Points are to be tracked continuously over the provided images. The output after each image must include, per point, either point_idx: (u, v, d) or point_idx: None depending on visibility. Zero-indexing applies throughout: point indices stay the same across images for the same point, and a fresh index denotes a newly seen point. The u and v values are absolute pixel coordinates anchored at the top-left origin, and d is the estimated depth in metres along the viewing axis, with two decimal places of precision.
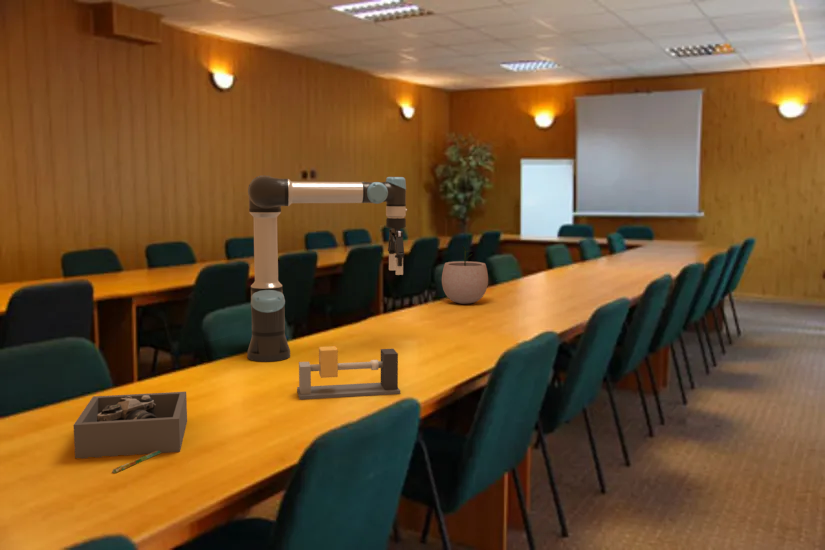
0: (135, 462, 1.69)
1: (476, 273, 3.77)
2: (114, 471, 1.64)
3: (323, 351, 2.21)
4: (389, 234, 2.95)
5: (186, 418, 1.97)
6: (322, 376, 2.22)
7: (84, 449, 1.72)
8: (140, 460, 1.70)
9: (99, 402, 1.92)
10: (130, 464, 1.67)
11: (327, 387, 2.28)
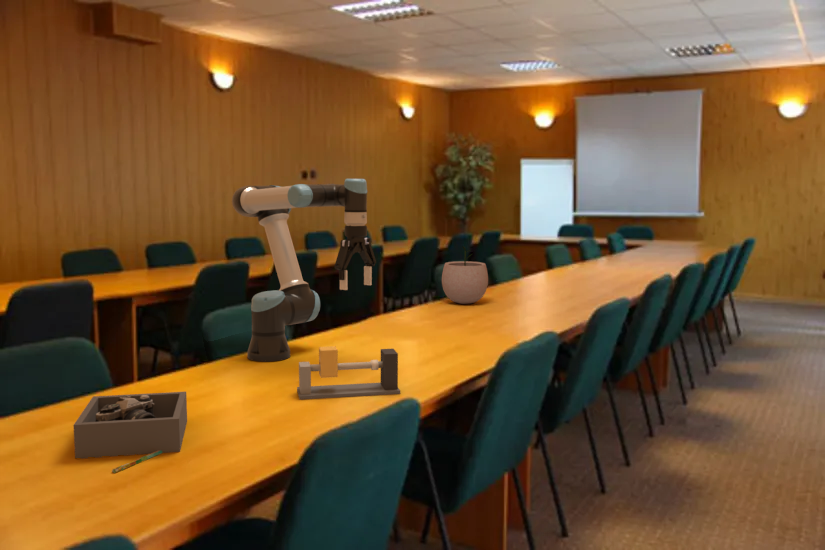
0: (135, 462, 1.69)
1: (476, 273, 3.77)
2: (114, 471, 1.64)
3: (323, 351, 2.21)
4: (364, 244, 2.59)
5: (186, 418, 1.97)
6: (322, 376, 2.22)
7: (84, 449, 1.72)
8: (140, 460, 1.70)
9: (99, 402, 1.92)
10: (130, 464, 1.67)
11: (327, 387, 2.28)
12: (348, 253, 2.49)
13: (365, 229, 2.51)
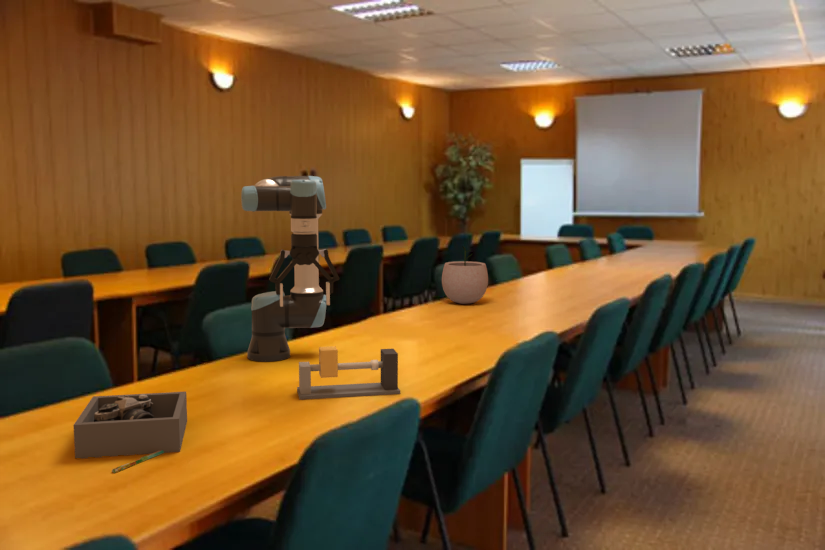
0: (135, 462, 1.69)
1: (476, 273, 3.77)
2: (113, 471, 1.64)
3: (323, 351, 2.21)
4: None
5: (186, 418, 1.97)
6: (322, 376, 2.22)
7: (84, 449, 1.72)
8: (141, 460, 1.70)
9: (99, 402, 1.92)
10: (130, 464, 1.67)
11: (327, 387, 2.28)
12: (288, 265, 2.18)
13: (306, 238, 2.15)
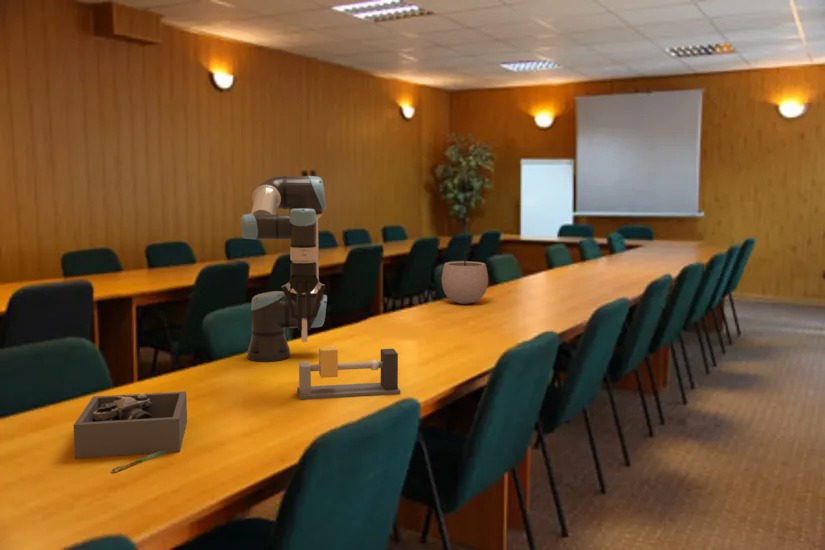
0: (135, 462, 1.69)
1: (476, 273, 3.77)
2: (113, 471, 1.64)
3: (323, 351, 2.21)
4: None
5: (186, 418, 1.97)
6: (322, 376, 2.22)
7: (84, 449, 1.72)
8: (141, 460, 1.70)
9: (99, 402, 1.92)
10: (130, 464, 1.67)
11: (327, 387, 2.28)
12: (297, 298, 2.19)
13: (306, 267, 2.15)
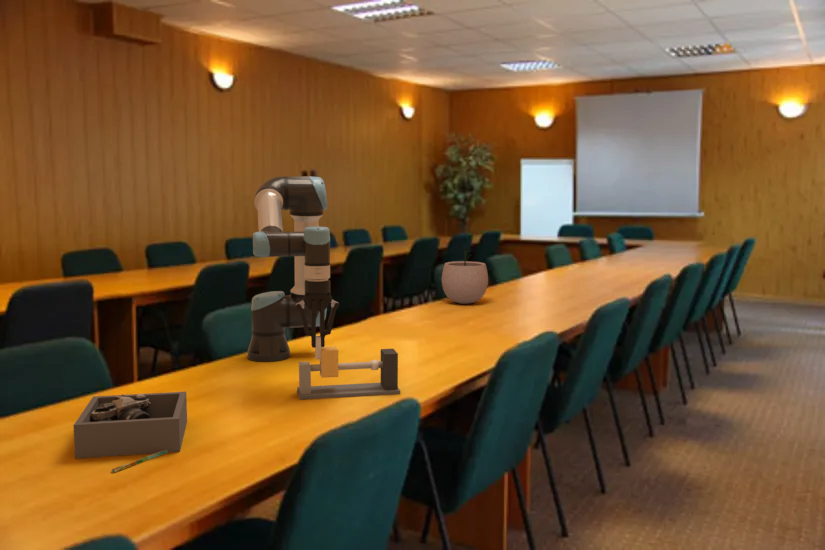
0: (136, 462, 1.68)
1: (476, 273, 3.77)
2: (113, 471, 1.64)
3: (324, 351, 2.21)
4: None
5: (186, 418, 1.97)
6: (323, 376, 2.22)
7: (84, 449, 1.72)
8: (141, 461, 1.70)
9: (99, 402, 1.92)
10: (130, 464, 1.67)
11: (327, 387, 2.28)
12: (311, 315, 2.21)
13: (320, 286, 2.17)
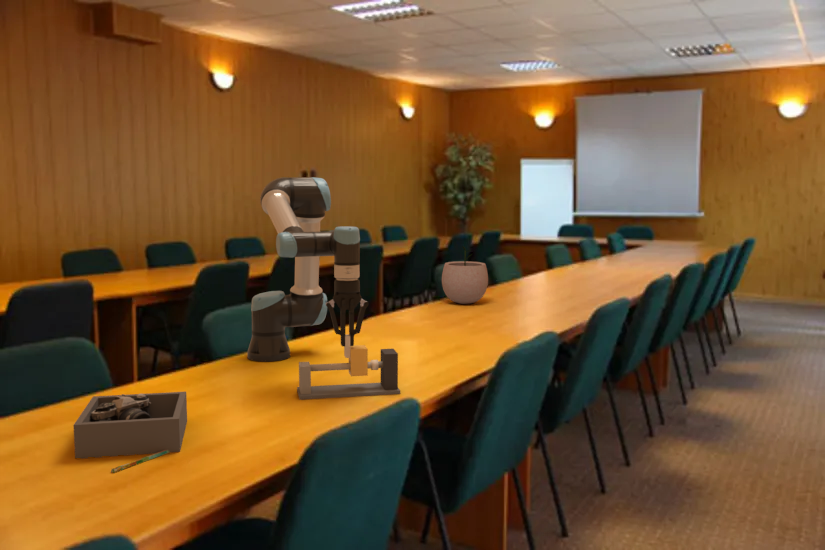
0: (136, 462, 1.68)
1: (476, 273, 3.77)
2: (112, 471, 1.64)
3: (353, 350, 2.23)
4: None
5: (186, 418, 1.97)
6: (352, 374, 2.24)
7: (84, 449, 1.72)
8: (141, 461, 1.70)
9: (99, 402, 1.92)
10: (130, 464, 1.67)
11: (327, 387, 2.28)
12: (340, 314, 2.23)
13: (350, 285, 2.19)
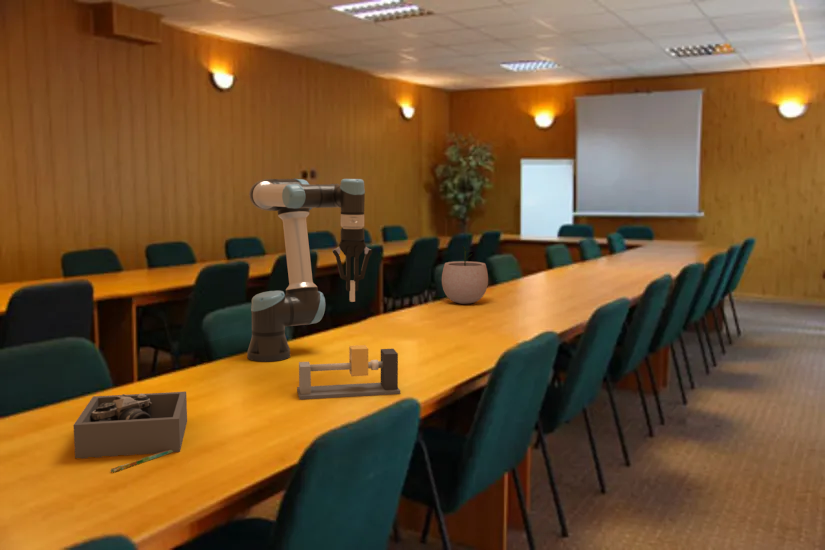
0: (136, 463, 1.68)
1: (476, 273, 3.77)
2: (112, 471, 1.64)
3: (354, 350, 2.23)
4: None
5: (186, 418, 1.97)
6: (353, 374, 2.24)
7: (84, 449, 1.72)
8: (142, 461, 1.70)
9: (99, 402, 1.92)
10: (130, 464, 1.67)
11: (327, 387, 2.28)
12: (346, 261, 2.39)
13: (355, 233, 2.35)
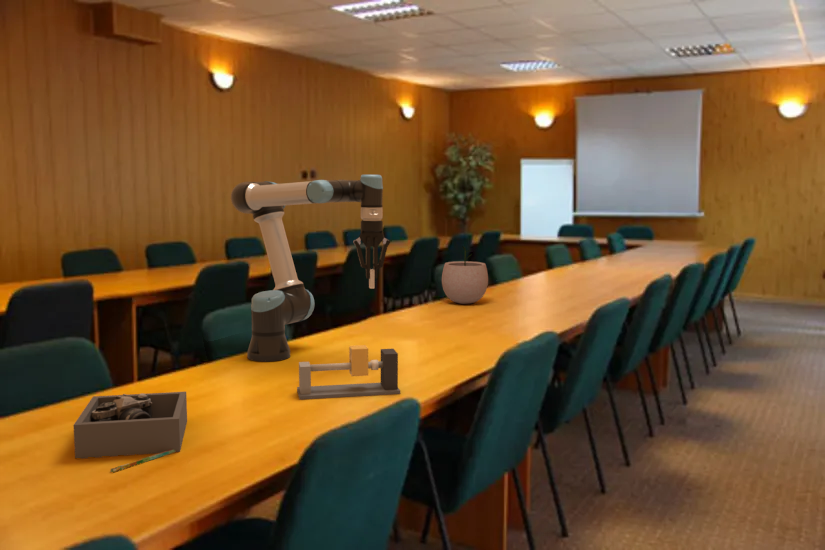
0: (136, 463, 1.68)
1: (476, 273, 3.77)
2: (111, 471, 1.64)
3: (354, 350, 2.23)
4: None
5: (186, 418, 1.97)
6: (353, 374, 2.24)
7: (84, 449, 1.72)
8: (142, 461, 1.69)
9: (99, 402, 1.92)
10: (130, 464, 1.67)
11: (327, 387, 2.28)
12: (366, 251, 2.58)
13: (374, 224, 2.54)
